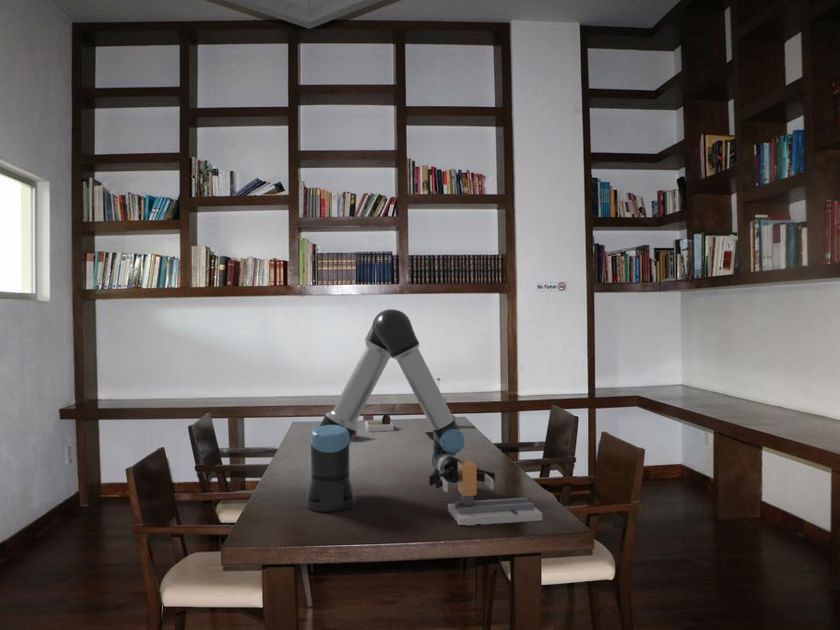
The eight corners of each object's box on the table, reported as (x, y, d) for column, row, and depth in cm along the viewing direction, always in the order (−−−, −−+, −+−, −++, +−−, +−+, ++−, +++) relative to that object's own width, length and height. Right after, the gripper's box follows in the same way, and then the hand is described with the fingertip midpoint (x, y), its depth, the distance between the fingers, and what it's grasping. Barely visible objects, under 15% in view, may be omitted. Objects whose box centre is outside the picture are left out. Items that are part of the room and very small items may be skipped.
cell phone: (442, 433, 316) (442, 431, 316) (451, 440, 299) (451, 438, 299) (424, 433, 315) (424, 432, 315) (432, 441, 297) (432, 439, 297)
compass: (371, 429, 326) (371, 414, 326) (384, 427, 332) (384, 413, 332) (380, 431, 320) (380, 416, 320) (393, 429, 325) (393, 415, 325)
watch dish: (367, 431, 319) (367, 425, 319) (364, 427, 332) (364, 421, 332) (393, 430, 322) (393, 424, 321) (390, 426, 334) (389, 420, 334)
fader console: (459, 525, 178) (459, 512, 178) (448, 510, 192) (448, 498, 192) (542, 520, 182) (542, 507, 182) (525, 505, 196) (525, 493, 196)
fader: (462, 512, 182) (462, 466, 182) (457, 506, 188) (457, 461, 188) (477, 511, 183) (477, 465, 183) (471, 505, 189) (471, 460, 189)
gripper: (489, 478, 209) (511, 496, 188) (413, 482, 204) (427, 501, 183) (489, 454, 209) (510, 470, 188) (413, 458, 204) (426, 475, 183)
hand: (469, 485), depth 186 cm, fingers open, 13 cm apart
